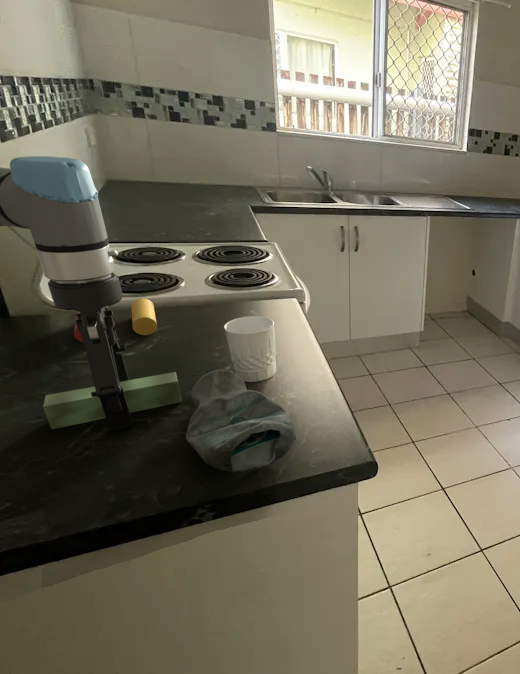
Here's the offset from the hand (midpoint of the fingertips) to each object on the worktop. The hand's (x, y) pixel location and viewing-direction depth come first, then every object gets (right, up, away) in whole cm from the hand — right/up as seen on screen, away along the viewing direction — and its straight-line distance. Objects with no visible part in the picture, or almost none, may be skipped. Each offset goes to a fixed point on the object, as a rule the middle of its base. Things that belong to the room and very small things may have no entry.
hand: (121, 408), depth 75 cm
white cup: (+14, +4, +14) cm, 20 cm away
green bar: (0, 0, 0) cm, 0 cm away
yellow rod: (-17, +14, +27) cm, 35 cm away
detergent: (+19, -3, -2) cm, 20 cm away
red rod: (-24, +12, +22) cm, 35 cm away
